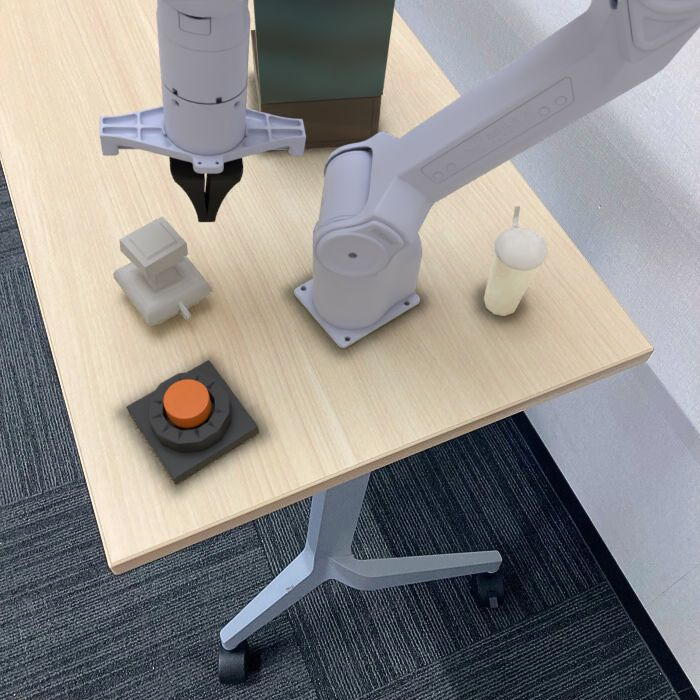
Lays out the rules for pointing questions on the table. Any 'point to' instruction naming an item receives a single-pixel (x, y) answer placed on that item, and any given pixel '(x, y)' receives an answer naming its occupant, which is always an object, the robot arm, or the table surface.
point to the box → (326, 115)
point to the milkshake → (513, 267)
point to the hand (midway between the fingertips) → (206, 213)
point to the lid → (321, 48)
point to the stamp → (160, 273)
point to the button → (187, 403)
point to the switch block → (198, 442)
